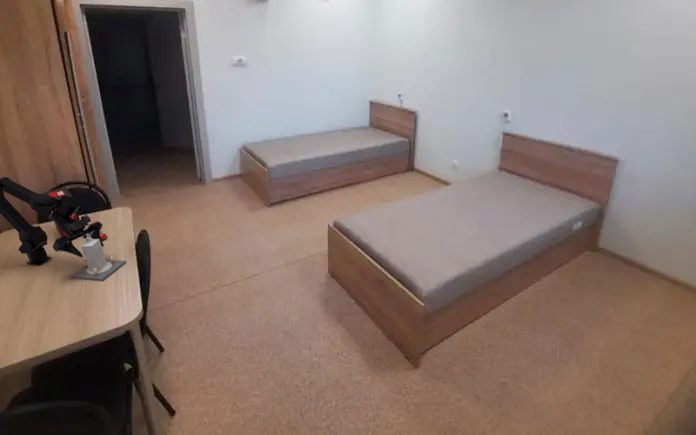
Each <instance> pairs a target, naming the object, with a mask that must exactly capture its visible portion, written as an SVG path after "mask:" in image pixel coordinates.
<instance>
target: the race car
mask: <svg viewBox="0 0 696 435" xmlns="http://www.w3.org/2000/svg"><path fill="white" fill-rule="evenodd" d="M82 237H83V238H84V239H86V240H87V235H84V236H82ZM100 237H101V239H102V241H105V240H107V239H108V234H106V233H104V232H102V230H100Z"/></svg>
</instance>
